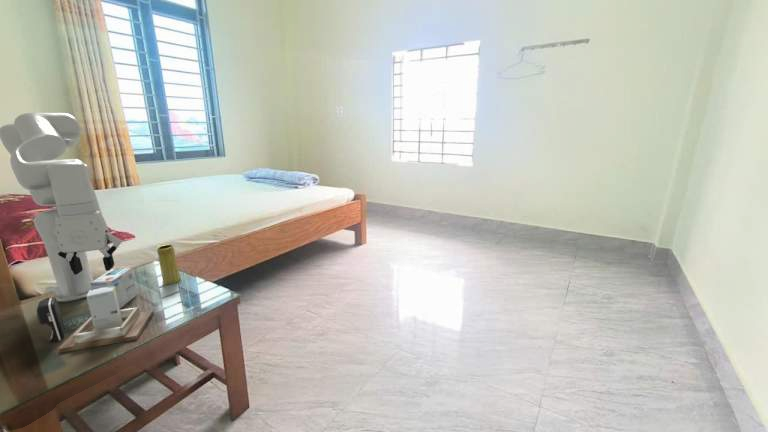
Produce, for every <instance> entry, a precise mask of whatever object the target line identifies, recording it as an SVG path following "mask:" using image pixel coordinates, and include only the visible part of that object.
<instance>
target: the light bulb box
mask: <svg viewBox="0 0 768 432" xmlns="http://www.w3.org/2000/svg"><path fill="white" fill-rule="evenodd" d="M90 285H91V289H92V290H94V289H99V288H104V287H110V286H115V290H116V294H117V299H118V304H119V308H120V309H121V308H123V307H124V306H125V305H127V303H129V302H130V301H131V300H133V299H134V298H135V297H137V296H138V293H137V289H136V284H135V281H134V275H133V272H132V268H131V267H125V268H111V269H110V270H109V271H106V272H104V273H103V274H102V275H100V276H98V277H97V278H95V279H93V281H92V282H90Z"/></svg>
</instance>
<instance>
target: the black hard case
mask: <svg viewBox="0 0 768 432" xmlns="http://www.w3.org/2000/svg"><path fill="white" fill-rule="evenodd" d="M58 303H59V302H58V301H57V300H56V298H55V297H50V298H46V299H45V298H44V299H42V300H40V301H39V302H38V304H37V307H36V314H37V319H38V322H39V324H40V325H42V326H43V325H46V326H49V327H50V328H51V332H50V333H49V338H48V340H49V342H50V343H54V342H57V341H61V340H63V339H65V334H66V325H65V322H64V319H63V316H62V312H61V309H60V307H59V304H58Z"/></svg>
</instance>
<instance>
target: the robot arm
mask: <svg viewBox="0 0 768 432" xmlns="http://www.w3.org/2000/svg"><path fill="white" fill-rule="evenodd" d="M79 122H80V121H78V120H77V118H76V117H74V116H73V115H71V114H69V113H66V112H26V113H22V114H19V115H18V116H17V117H16V118H15V119H14V122H13V123H8V124H5V125H2V126H1V127H0V141H1V143H2V145H3V146H4V148H5V149H6V150H7V152H8V154H9V155H10V161H9V162H10V166H11V167H10V168H11V169H12V172H13V174H14V176H15V178H16V180H17V182H18V183H19V185H20V186H21V187H22V188H23V189H25V190H28V191H29V193H30V196H31V199H32V200H33V201H34V203H35V204H36V205H38V206H40V207H48V206H51V209H49V210H45V211H41V212H39V213H37V214H36V215H35V216H34V218H33V224H34V225H33V226H34V227H35V229H36V231H37V233H38V235H39V236H40V239H41V241H42V243H43V245H44V248H45V251H46V254H47V257H48V260H49V264H50V266H51V269H52V273H53V277H54V280H55V283H56V285H52V284H51V285H46V286H45V288H44V289H45V294H52V293H54V295H53V296H54V297H55V298H56V300H57V302H58V303H60V302H62V303H63V302H64V303H65V302H66V303H67V302H73V301H77V300H81V299H85V298H87V294H88V292H89V290H92V289H91V285H90V282H92V281H94V278H93V274H92V271H91V267H90V263H89V259H88V256H87V253H86V252H93V251H99V252H100V253H101V254H102V255H103V257H102V262H103V266H104V270H105V271H106V272H108V271H109V270H111V269H114V266H115V260H114V256H113V254H114V252H115V251H116V250H117V249H118V248H119V247H120V245H121V244H122V243H123V239H121V238H119V237H117V236H115V235H114V234H112V233H110V231H109V228H108V225H107V222H106V220H105V218H104V216H103V213H102V211H101V207H100V204H99V201H98V197H97V195H96V191H95V188H94V187H93V184H92V182H91V180H90V179H91V171H90V169H89V166H88V164H86V163H85V162H83V161H82V160H80V159H78V158H65V159H59V158H60V157H62V156H63V155H64V154H65V152H66V150H67V149H71V148H74V147H76V145H77V144H78V143H79V141H80V140H81V139H82V135H83V134H82V133H83V132H82V126H81V124H80V123H79ZM111 243H113V244H112V245H111V246H110V244H111ZM54 297H53V298H54Z"/></svg>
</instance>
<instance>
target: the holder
mask: <svg viewBox="0 0 768 432" xmlns="http://www.w3.org/2000/svg"><path fill="white" fill-rule="evenodd" d="M139 308H140V307H138V306H137V307H129V308H124V309H120V313H121V317H122V325H121V327H115V328H109V329H103V330H97V331H95V330H94V326H93V322H92V318H91V316H90V317H89V318H88V319H87V320H84V321H83V322H82V324H81V325H79V326H78V328H76V330H74V332H73V333H72V334H71V335H70V336H69V337H68V338H67V339H66V340H65V341H64V342H63V343H62V344H61V345H60V346H59V347H58V349H57V350H58V351H57V352H58V353H65V352H72V351H77V350H82V349H89V348H94V347H101V346H106V345H111V344H117V343H123V342H129V341H136V340H138V339H139V337H140V336H141V334H142V333H143V331H144V330H145V328H146V326H147V325H148V323H149V322H150V320H151V319H152V317H153V316H154V310H148V311H147V310H146V311H141V312H140V309H139Z"/></svg>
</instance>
